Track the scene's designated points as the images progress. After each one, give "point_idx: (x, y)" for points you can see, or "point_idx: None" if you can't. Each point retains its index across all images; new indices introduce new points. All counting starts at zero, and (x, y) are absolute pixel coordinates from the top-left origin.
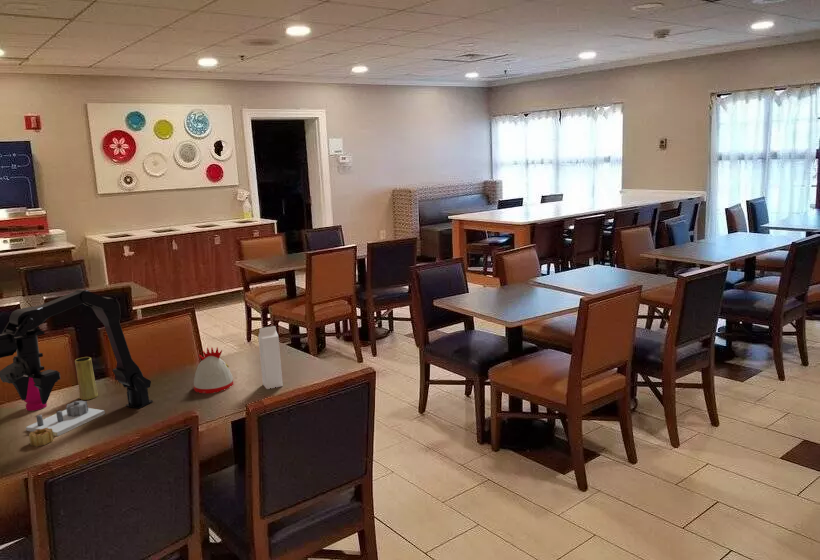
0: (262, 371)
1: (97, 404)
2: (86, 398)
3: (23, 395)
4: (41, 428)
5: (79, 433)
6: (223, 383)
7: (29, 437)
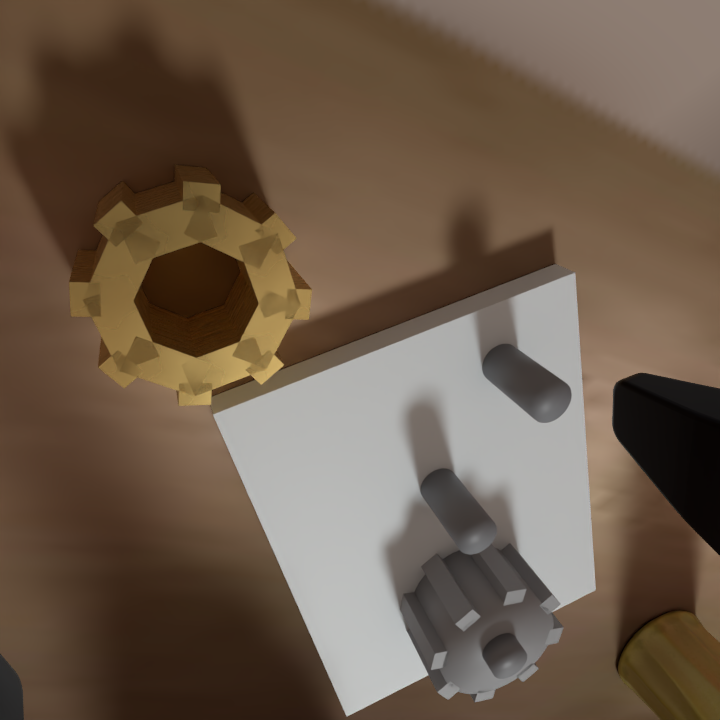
0: None
1: None
2: (639, 642)
3: (688, 456)
4: (430, 348)
5: (111, 531)
6: None
7: (202, 179)
